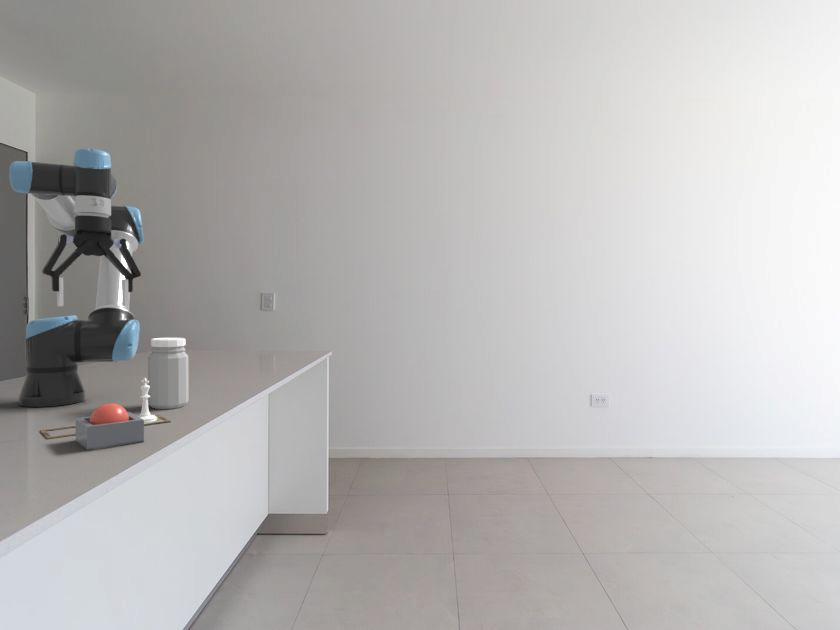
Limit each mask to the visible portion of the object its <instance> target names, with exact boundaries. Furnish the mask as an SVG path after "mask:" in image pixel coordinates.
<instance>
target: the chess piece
mask: <svg viewBox="0 0 840 630" xmlns="http://www.w3.org/2000/svg"><path fill="white" fill-rule="evenodd" d="M140 383H142V384H143V385H141V386H140V390H141V391H140V392H141V394H142V395H140V397H139V398H140V399H142V404H141V410H140V411H141V412H140V413H139V415H137V416H138V417H140V418H141V419H143V420H144V423H147V422H153V421H156V420H157V419H156V416H155V415H156V414H155V415H154V414H151V412H150V410H149V403H148V398H149V397H150V395H148V391H149V388H150V386H149V385H148V383H149V381H148V377H143V379H142V380H141V381H140Z"/></svg>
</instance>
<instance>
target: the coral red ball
mask: <svg viewBox="0 0 840 630" xmlns="http://www.w3.org/2000/svg"><path fill="white" fill-rule="evenodd" d="M127 412H128V411H127V409H125V408H124V407H123V406H122V405H120V404H119V403H118V404H117V403H105V404H101V405H99V406H98V407H97V408H95V409H94V411H92V413H91V415H90V416H91V417H90V416H89V417H90V421H89V423H90V424H92V425H98V424H106V423H114V422H121V421H129V415H128V413H127Z"/></svg>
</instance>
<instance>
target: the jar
mask: <svg viewBox="0 0 840 630" xmlns="http://www.w3.org/2000/svg"><path fill="white" fill-rule="evenodd" d="M186 342H187V341H186V338H184V337H156V338H155V337H154V338H151V339H150V346H151V347H152V349H150V352H151V353H150V354H149V355H148V356H147V381H149V383H147V385H149V386H150V388H149V391H148V395H150V397H149V398H147V400H148V406H150V407H151V408H152V409H154V408H155V410H171V409H179V408H183V407H184V406H186V405H187V403H188V402H189V396H190V395H189V394H190V393H189V391H190V389H189V387H190V385H189V383H190V381H189V380H190V379H189V378H190V377H189V355H188V354H187V353H186V351H187V350H186V348H185V347H186V345H187V344H186Z"/></svg>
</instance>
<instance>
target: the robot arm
mask: <svg viewBox="0 0 840 630" xmlns="http://www.w3.org/2000/svg"><path fill="white" fill-rule="evenodd" d="M111 161H112V160H111V155H110V154H109V153H108V152H106V151H104V150H100V149H97V148H88V147H87V148H84V147H83V148H78V149H76V150H75V151H74V158H73V164H72V165H69V164H57V163H49V162H48V163H47V162H38V161H37V162H36V161H30V160H28V161H25V160H23V161H22V160H21V161H20V160H18V161H13V162H11V163H10V166H9V169H8V170H9V173H8V175H9V176H8V178H9V182H10V186H11V189H12V190H13V191H14V192H15V193H20V194H21V193H22V194H25V195H28V194H31V196H33V197H32V198H34V199H35V200H36V201H37V203H38V204H39V205H40V206H41V208H42V209H43V210H44V211H45V213H46V217H47V220H48V222H49V224H51V226H52V227H53V228H54V229H56V230H57V231H59V232H60V233H61V234H60V235H58V240H57V245H56V247H55V248H54V250H53V251H52V253H51V255H50V256H49V258H48V260H47V262H46V263H45V265H44V267H43V269H42V271H41V273H42V274H43V275H46V276H49V277H50V278H51V290H52V291H53V292H56V295H57V297H56V298H57V301H56V302H57V303H56V305H57V307H64V304H65V303H64V297H65V296H64V277H60V276H61V275H62V274H63V273H64V272H65V271H66V270H67V269H68V268H69V267H70V266H71V265H72V264H73V263H74V262H75V261H76V260H77V259H78V258H79V257H80V256H81V255H83V256H87V257H89V256H94V257H99V266H98V267H99V268H98V278H97V288H96V299H95V309H93V310H92V311H90V312H89V314H88V318H87V319H86V320H83V319H82V320H81V319H80V320H79V318H78V316H77V315H76V314H75V315H63V316H55V317H48V318H47V317H45V318H39V319H33V320H30V321H29V322H28V323H27V324H26V329H25V332H26V333H25V334H26V335H25V338H24V339H25V352H26V353H25V354H26V355H25V357H26V358H25V359H26V360H25V361H26V362H25V363H26V367H25V368H26V374H25V375H26V376H25V378H24V382H23V383H22V387H21V390H20V391H19V395H18V406H22V407H27V408H28V407H29V408H30V407H31V408H35V407H36V408H38V407H39V408H42V407H44V408H45V407H57V406H58V407H59V406H65V405H66V406H67V405H71V404H77V403H80V402H83V401H85V400H86V390H85V387H84V384H83V382H82V379H81V376H80V375H79V372H78V371H79V368H78V364H79V363H105V362H107V363H111V362H112V363H118V362H126V361H131V360H133V359H134V357H135V356H136V354H137V351H138V348H139V347H138V346H139V342H140V341H139V339H140V331H141V330H140V329H141V328H140V327H141V325H140V321H138V320H137V319H135V315H134V313H132V312H131V311H130V301H131V300H130V299H131V293H132V292H134V291H133V290H134V289H133V288H134V287H133V283H134V282H133V281H134V279H136V278H139V277H141V274H142V273H141V271H140V270H139V268H138V266H137V264H136V261H134V258H133V253H134V252H136V251H137V249H138V247H139V245H140V244H144V243H145V239H144V230H143V229H144V228H143V223H142V222H143V221H142V214H141V210H139V209H138V207H135V206H127V205H123V206H121V205H112V198H113V197H114V196H115V195H116V193H117V190H118V185H117V179H116V177H115V176H114V175H113V174H112V162H111ZM72 197H74V200H73V198H72ZM71 242H72V243H73V244H74V246H75V247H76V248H75V250H74V251H72V253H70V254H69V256H68V257H67V258H66V259H65V260H64V261H63V262H61V264H60V265H58V267H56V269H54V270H53V268H54V266H55V265H56V263H57V262H58V260H59V258H60V256H61V254H62V253H63V251H64V250H65V248H66V246H68V245H70V243H71Z"/></svg>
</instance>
